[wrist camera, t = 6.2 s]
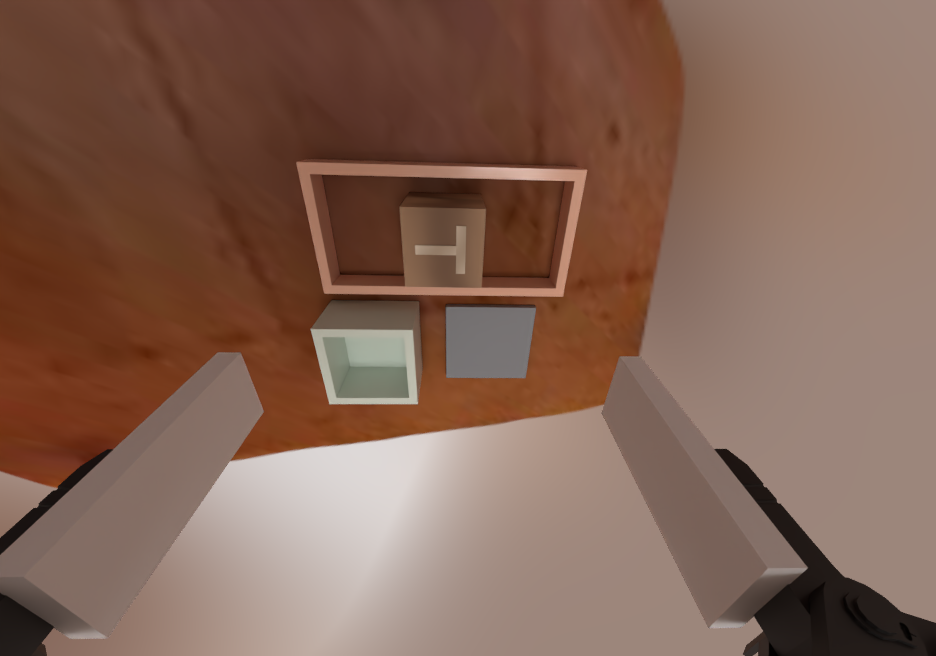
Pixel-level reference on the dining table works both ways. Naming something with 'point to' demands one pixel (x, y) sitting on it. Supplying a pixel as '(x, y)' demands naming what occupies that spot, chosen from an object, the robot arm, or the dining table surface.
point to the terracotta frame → (395, 285)
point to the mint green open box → (370, 351)
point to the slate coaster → (488, 340)
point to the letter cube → (443, 239)
